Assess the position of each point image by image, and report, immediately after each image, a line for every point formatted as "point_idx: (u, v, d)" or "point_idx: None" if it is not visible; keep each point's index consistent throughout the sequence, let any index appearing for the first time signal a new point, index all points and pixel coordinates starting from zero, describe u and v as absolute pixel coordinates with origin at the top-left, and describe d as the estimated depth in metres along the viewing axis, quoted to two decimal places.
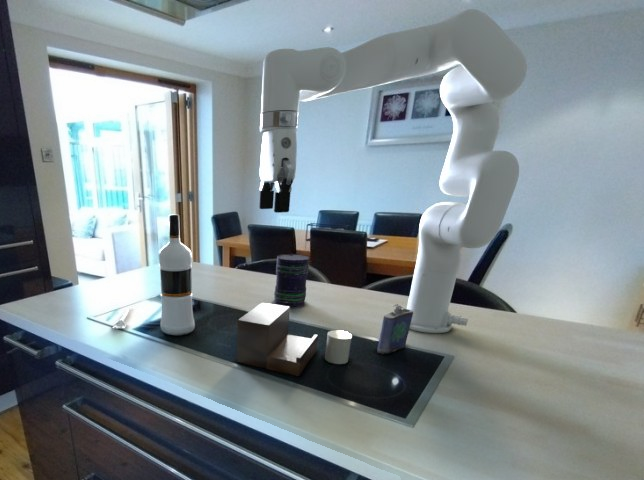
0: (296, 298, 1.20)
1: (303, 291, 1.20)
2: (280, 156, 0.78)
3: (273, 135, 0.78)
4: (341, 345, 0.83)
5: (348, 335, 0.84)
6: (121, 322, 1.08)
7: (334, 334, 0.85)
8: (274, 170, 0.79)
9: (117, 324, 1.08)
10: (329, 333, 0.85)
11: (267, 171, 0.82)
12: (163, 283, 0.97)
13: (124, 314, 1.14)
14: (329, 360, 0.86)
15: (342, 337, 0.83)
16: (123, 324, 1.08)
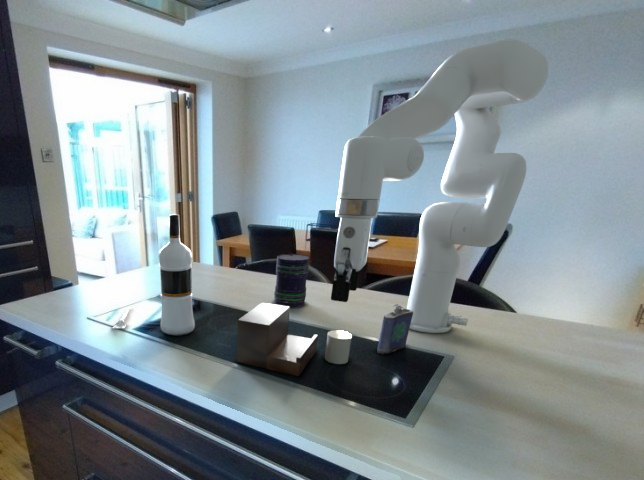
0: (296, 298, 1.20)
1: (303, 291, 1.20)
2: (341, 245, 0.74)
3: None
4: (341, 345, 0.83)
5: (348, 335, 0.84)
6: (121, 322, 1.08)
7: (334, 334, 0.85)
8: (334, 258, 0.75)
9: (117, 324, 1.08)
10: (329, 333, 0.85)
11: None
12: (163, 283, 0.97)
13: (124, 314, 1.14)
14: (329, 360, 0.86)
15: (342, 337, 0.83)
16: (123, 324, 1.08)
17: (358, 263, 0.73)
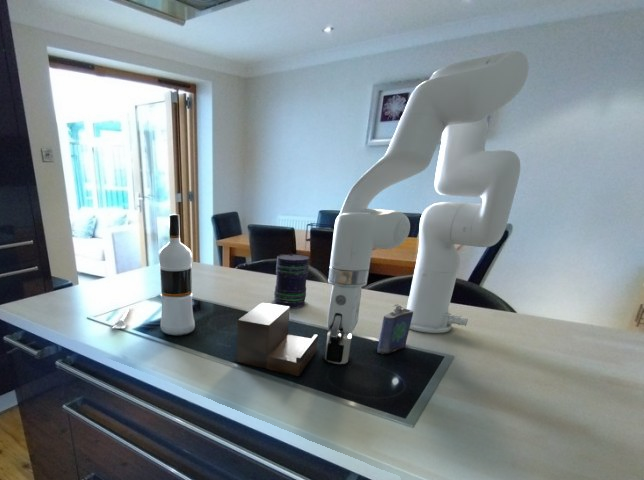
0: (296, 298, 1.20)
1: (303, 291, 1.20)
2: (333, 311, 0.79)
3: (332, 289, 0.79)
4: None
5: (348, 335, 0.84)
6: (121, 322, 1.08)
7: None
8: (327, 321, 0.81)
9: (117, 324, 1.08)
10: (329, 333, 0.85)
11: None
12: (163, 283, 0.97)
13: (124, 314, 1.14)
14: None
15: None
16: (123, 324, 1.08)
17: (349, 328, 0.78)
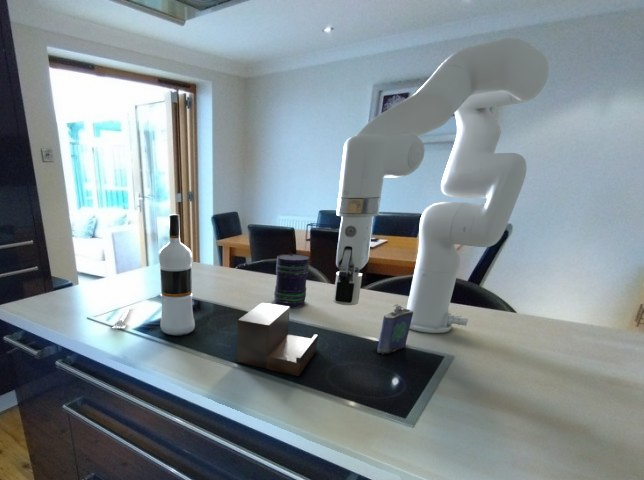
0: (296, 298, 1.20)
1: (303, 291, 1.20)
2: (343, 244, 0.74)
3: (341, 221, 0.74)
4: None
5: (358, 274, 0.79)
6: (121, 322, 1.08)
7: None
8: (336, 257, 0.76)
9: (117, 324, 1.08)
10: (338, 273, 0.80)
11: None
12: (163, 283, 0.97)
13: (124, 314, 1.14)
14: (338, 302, 0.81)
15: None
16: (123, 324, 1.08)
17: (360, 262, 0.73)
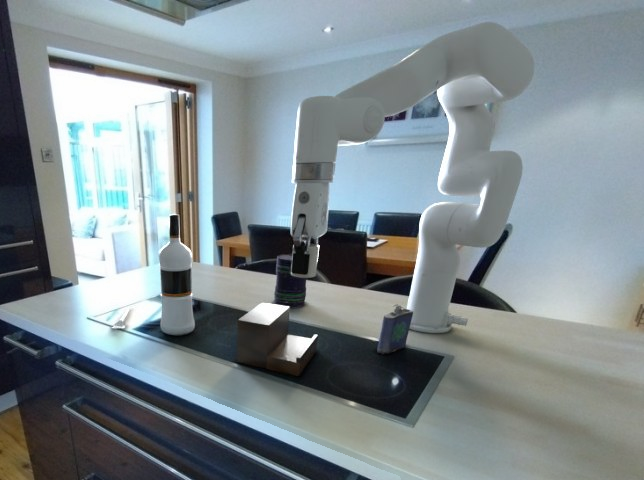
0: (296, 298, 1.20)
1: (303, 291, 1.20)
2: (296, 212, 0.71)
3: (295, 188, 0.71)
4: None
5: (315, 245, 0.77)
6: (121, 322, 1.08)
7: None
8: (291, 226, 0.73)
9: (117, 324, 1.08)
10: None
11: None
12: (163, 283, 0.97)
13: (124, 314, 1.14)
14: (295, 274, 0.78)
15: None
16: (122, 324, 1.08)
17: (314, 230, 0.71)
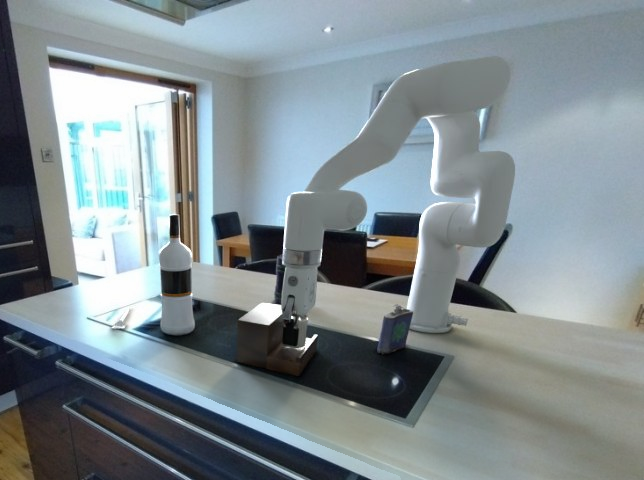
0: None
1: None
2: (286, 293, 0.77)
3: (285, 271, 0.77)
4: None
5: (304, 318, 0.83)
6: (120, 322, 1.08)
7: None
8: (281, 304, 0.79)
9: (116, 324, 1.08)
10: None
11: None
12: (163, 283, 0.97)
13: (124, 314, 1.14)
14: (285, 344, 0.84)
15: None
16: (122, 324, 1.08)
17: (302, 310, 0.77)
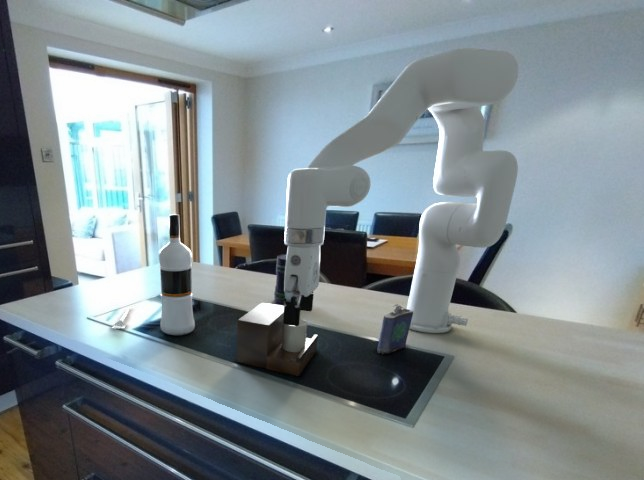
0: (296, 298, 1.20)
1: None
2: (289, 272, 0.76)
3: (287, 250, 0.76)
4: (296, 333, 0.82)
5: (304, 322, 0.83)
6: (120, 322, 1.08)
7: None
8: (284, 284, 0.78)
9: (116, 324, 1.08)
10: None
11: None
12: (163, 283, 0.97)
13: (124, 314, 1.14)
14: (285, 348, 0.84)
15: None
16: (122, 324, 1.08)
17: (306, 289, 0.76)
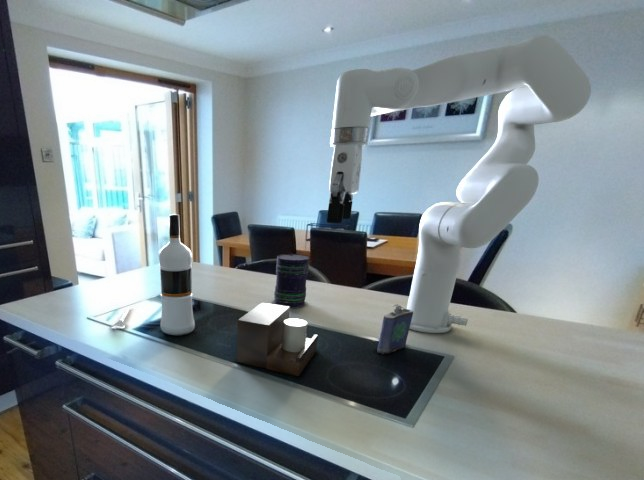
0: (296, 298, 1.20)
1: (303, 291, 1.20)
2: (335, 170, 0.83)
3: (334, 150, 0.83)
4: (296, 333, 0.82)
5: (304, 322, 0.83)
6: (120, 322, 1.08)
7: (290, 322, 0.84)
8: None
9: (116, 324, 1.08)
10: (285, 321, 0.84)
11: None
12: (163, 283, 0.97)
13: (124, 314, 1.14)
14: (285, 348, 0.84)
15: (297, 324, 0.82)
16: (122, 324, 1.08)
17: (350, 185, 0.83)
